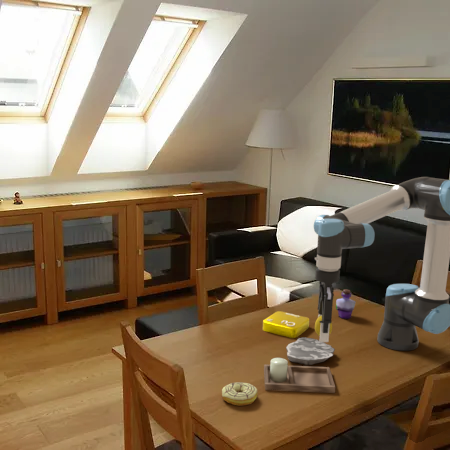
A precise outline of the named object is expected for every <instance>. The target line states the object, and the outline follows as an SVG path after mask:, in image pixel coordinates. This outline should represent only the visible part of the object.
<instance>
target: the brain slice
mask: <svg viewBox="0 0 450 450" xmlns="http://www.w3.org/2000/svg"><path fill="white" fill-rule="evenodd" d="M285 349H286V355H287V360H289V361H290V362H292V363H295V364H296V363H298V364H301V365H304V366H313V365H315V364H319V363H324V362H325V361H327V360H328V359H329V358H331V357H333V356H334V353H335V350H336V349H335V348H334V347H332V345H330V344H328V343H327V342H320V339H316V338H311V337H298V338H297V340H295V341H293V342H291V343H288V345H286V347H285Z"/></svg>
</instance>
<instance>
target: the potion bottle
mask: <svg viewBox="0 0 450 450" xmlns="http://www.w3.org/2000/svg"><path fill="white" fill-rule="evenodd" d="M340 294H341V298H337V299H336V301H335V304H336V305H335V309H336V311H337V312H338V318H340V319H342V320H349V319H352V314H353V311H354V309H355V306H356V301H355V300H353V299H351V297H352V294H353V293H352V292H351V290H350V289H347V288H346V289H343V290H342V291H341V293H340Z"/></svg>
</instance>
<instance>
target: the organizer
mask: <svg viewBox="0 0 450 450" xmlns="http://www.w3.org/2000/svg"><path fill="white" fill-rule="evenodd" d="M263 373H264V374H263V375H264V377H263V378H264V390H265V391H282V392H283V391H284V392H304V393H305V392H307V393H324V394H325V393H330V394H331V393H332V394H336V385H335V382H334V379H333V374H332V371H331V369H330V367H329V366H327V367H326V366H312V365H303V366H302V365H288V368H287V380H286V381H285V382H280V383H279V382H274V381H272V380H270V364H263Z"/></svg>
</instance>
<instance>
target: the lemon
mask: <svg viewBox="0 0 450 450" xmlns="http://www.w3.org/2000/svg"><path fill="white" fill-rule="evenodd" d="M320 321H322V316H320V317H318V316H317V319H316V320H315V323H314V332H315V334H317V336H318V337H320V328H321V323H320ZM332 331H333V322H331V323H330V328H329V336H330V335H331V334H332Z"/></svg>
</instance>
